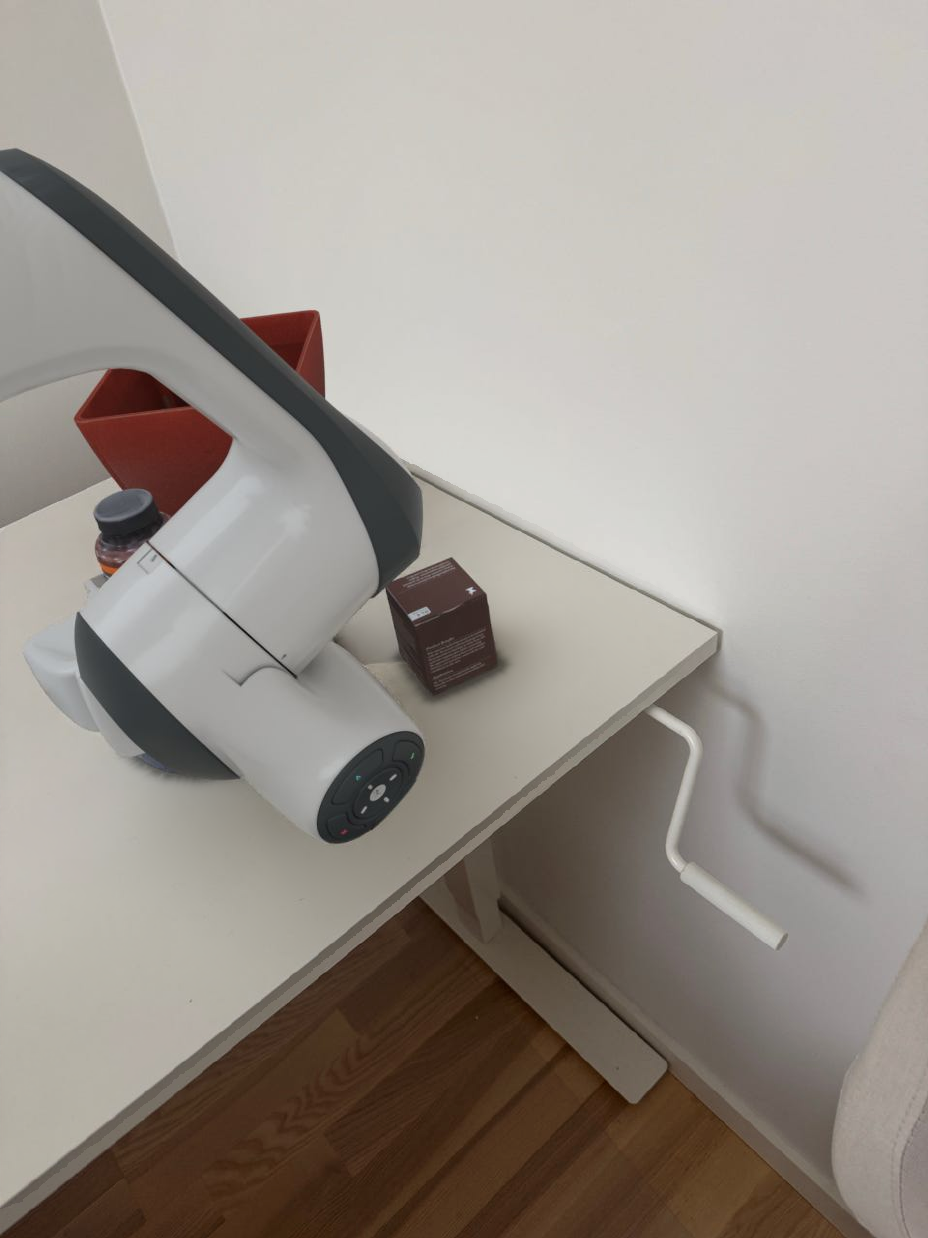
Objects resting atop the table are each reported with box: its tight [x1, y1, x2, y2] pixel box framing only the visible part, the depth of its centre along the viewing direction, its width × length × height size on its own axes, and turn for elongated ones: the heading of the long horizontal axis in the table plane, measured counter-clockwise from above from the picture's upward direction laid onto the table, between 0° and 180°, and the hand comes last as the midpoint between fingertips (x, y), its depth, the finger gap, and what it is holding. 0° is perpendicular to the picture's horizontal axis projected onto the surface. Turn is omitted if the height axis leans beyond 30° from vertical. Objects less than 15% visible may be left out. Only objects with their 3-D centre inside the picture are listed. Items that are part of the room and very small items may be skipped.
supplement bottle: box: [92, 489, 174, 579], centre depth 67 cm, size 6×6×11 cm
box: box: [384, 556, 499, 696], centre depth 73 cm, size 6×6×7 cm
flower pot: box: [73, 309, 326, 517], centre depth 92 cm, size 19×19×17 cm
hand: (144, 562), depth 67 cm, fingers closed on supplement bottle, 6 cm apart
